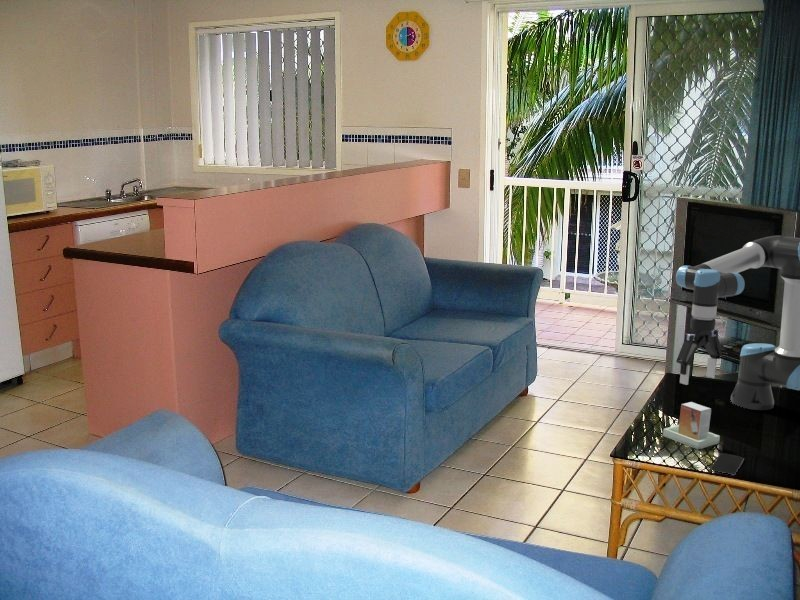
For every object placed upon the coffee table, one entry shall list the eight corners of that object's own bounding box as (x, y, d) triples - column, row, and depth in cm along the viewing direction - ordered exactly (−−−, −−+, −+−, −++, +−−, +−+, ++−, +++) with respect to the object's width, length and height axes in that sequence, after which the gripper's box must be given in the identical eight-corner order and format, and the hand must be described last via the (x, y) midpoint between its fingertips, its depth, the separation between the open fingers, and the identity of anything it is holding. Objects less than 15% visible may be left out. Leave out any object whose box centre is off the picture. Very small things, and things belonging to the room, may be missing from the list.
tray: (684, 429, 297) (684, 423, 296) (719, 443, 286) (719, 435, 285) (662, 435, 291) (663, 428, 290) (697, 449, 279) (698, 442, 279)
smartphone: (709, 469, 263) (720, 452, 275) (709, 472, 263) (720, 455, 276) (734, 475, 259) (744, 457, 272) (734, 478, 260) (744, 461, 272)
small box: (677, 433, 290) (680, 403, 288) (688, 430, 293) (691, 401, 291) (697, 441, 284) (700, 410, 281) (708, 438, 287) (711, 408, 285)
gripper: (717, 310, 289) (711, 371, 294) (668, 319, 276) (662, 383, 280) (737, 315, 283) (730, 377, 288) (688, 324, 269) (682, 389, 274)
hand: (697, 380), depth 284 cm, fingers open, 13 cm apart
